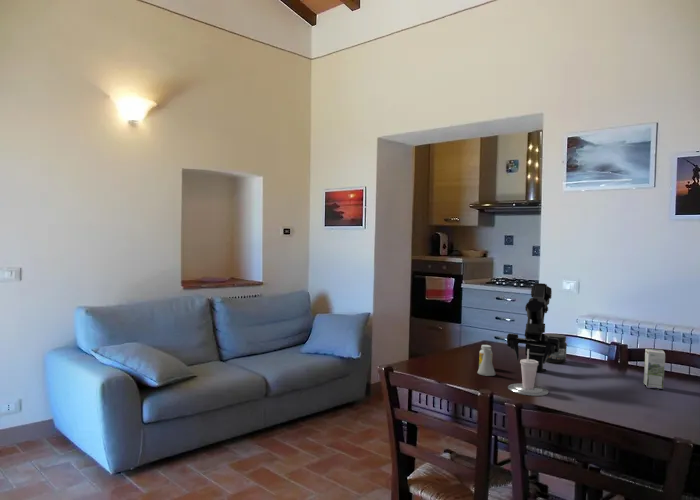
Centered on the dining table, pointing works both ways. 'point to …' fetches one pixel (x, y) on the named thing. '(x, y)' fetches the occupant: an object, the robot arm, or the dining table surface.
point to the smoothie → (528, 371)
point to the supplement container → (561, 355)
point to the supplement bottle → (483, 353)
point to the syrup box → (654, 368)
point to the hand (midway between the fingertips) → (530, 361)
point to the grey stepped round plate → (528, 390)
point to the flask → (486, 364)
